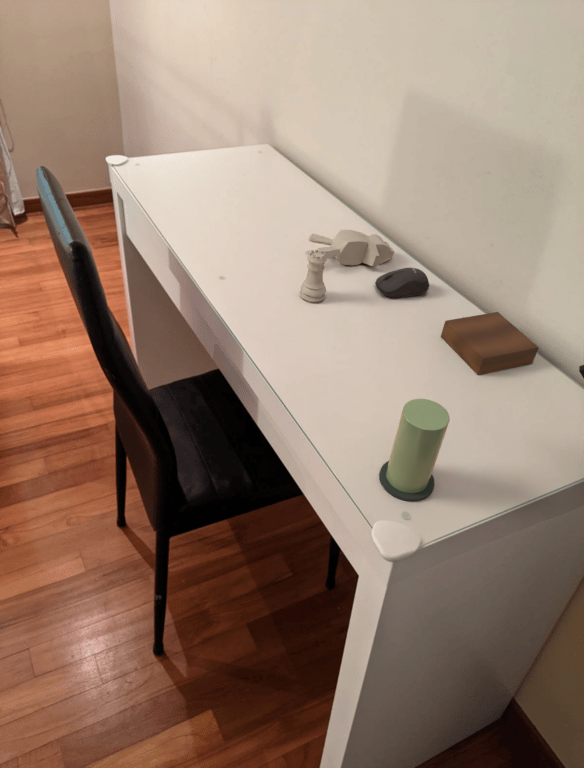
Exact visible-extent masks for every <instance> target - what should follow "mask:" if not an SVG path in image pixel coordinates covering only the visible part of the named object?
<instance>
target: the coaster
mask: <svg viewBox="0 0 584 768" xmlns="http://www.w3.org/2000/svg"><path fill="white" fill-rule="evenodd" d="M388 463H389V460H388V461H386V462H384V463H383V464H382V466H381V468H380V470H379V474H378V475H379V476H378V477H379V482H380V485H381V486H382V487H383V489H384V490H385V492H387V493H388V494H389V495H391V496H392V497H394V498H395V499H398V500H401V501H404V502H419V501H423V500H425V499H427V498H428V497H429V496H430V495H431V494H432V493H433V491H434V488H435V478H434V475H433V473H432V474H431V477H430V480H429V483H428V486H427V487H426V488H425V489H424V490H423V491H421V492H418V493H405V492H402V491H399V490H397V489H396V488H394V487H393V486H392V485H391V484H390V483H389V481H388V480H387V477H386V470H387V467H388Z"/></svg>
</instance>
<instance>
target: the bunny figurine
mask: <svg viewBox="0 0 584 768" xmlns="http://www.w3.org/2000/svg"><path fill="white" fill-rule="evenodd" d="M308 241H309V242H310V243H314V244H319V245H325V246H324V247H318V248H317V249H318V252H320V251H321V250H322V251H324V253H325V256H326V258H327V260H329V259H332V258H336V259H337V260H338V261H339V262H340V264H341V265H343V266H345V265H346V266H359V265H360V264H365V265H368V266H370V267H377V266H378V265H379V266H380V265H382V264H384V263H386V262H387V261H388V260H392V259H393V258H394V254H395V250H394V249H393V248H392V247H391V245H390V244H389V243H388V241H385V240H383V238H382V237H381V236H380V235H378V234H370V235H367V234H365V233H363V232H360V231H357V230H353V229H340V230H339V231H338V232H337V234H336V235H335V236H334V237H333V238H330V237H327V236H324V235H320V234H317V233H311V234H310V235H309V237H308Z"/></svg>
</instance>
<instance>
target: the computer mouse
mask: <svg viewBox="0 0 584 768" xmlns="http://www.w3.org/2000/svg"><path fill="white" fill-rule="evenodd" d="M374 284H375V287H376V289H377V290H378V292H380V294H381V295H383V296H386V297H388V298H391V299H392V298H393V299H398V298H402V297H403V298H405V297H416V296H420V295H424V294H425V293H427V292H428V291H429V288H430V281H429V278H428V276H427V274H426V273H425V272H424V271H423V270H421V269H419V268H416V267H404V268H398V269H395V270H393V271H389V272H386V273H384V274H382V275H380V276H378V277H377V278H376V280H375V282H374Z"/></svg>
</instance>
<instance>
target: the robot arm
mask: <svg viewBox="0 0 584 768" xmlns="http://www.w3.org/2000/svg"><path fill="white" fill-rule="evenodd" d="M578 372H579V373H580V376H581V377H582V378H583V379H584V364H582V365H579V367H578Z"/></svg>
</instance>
